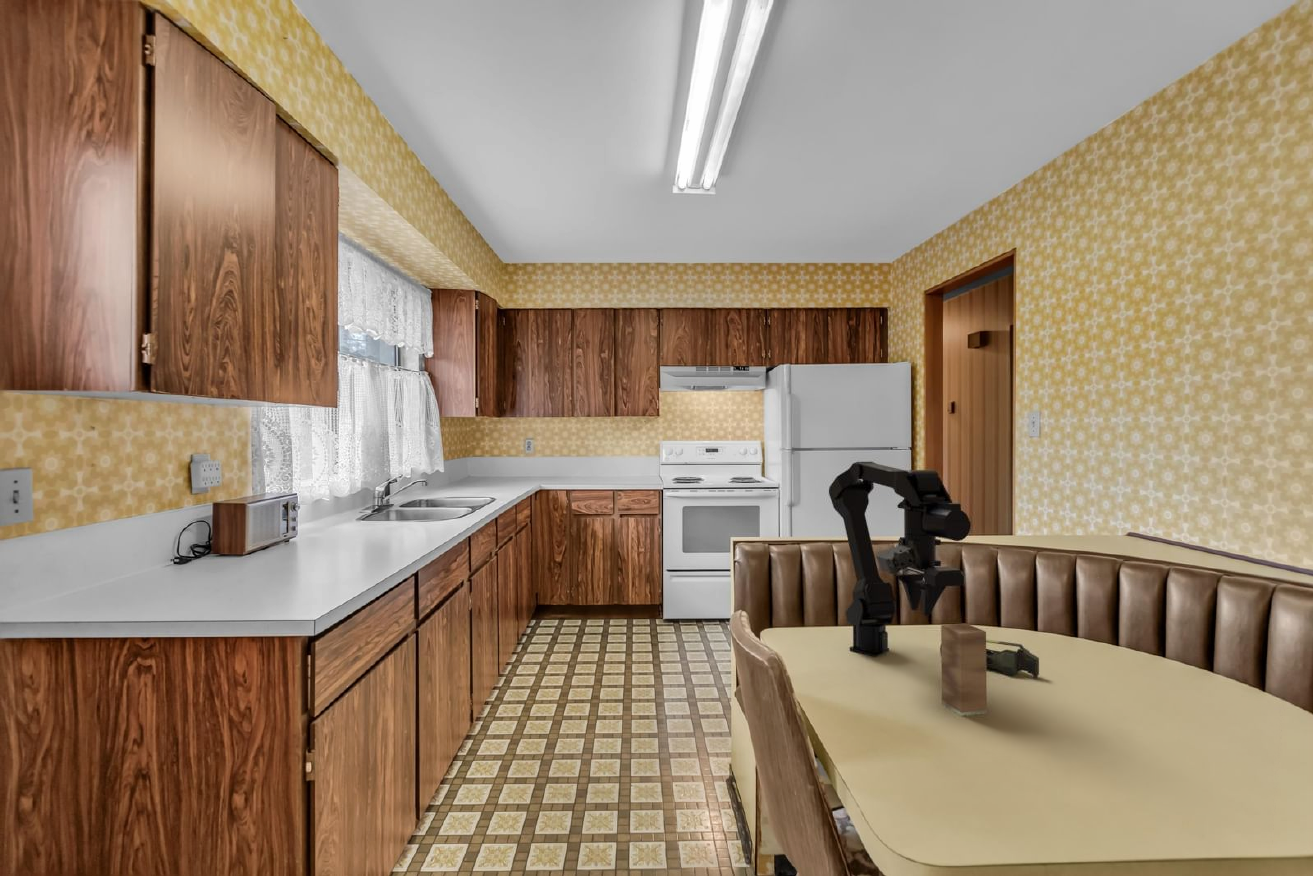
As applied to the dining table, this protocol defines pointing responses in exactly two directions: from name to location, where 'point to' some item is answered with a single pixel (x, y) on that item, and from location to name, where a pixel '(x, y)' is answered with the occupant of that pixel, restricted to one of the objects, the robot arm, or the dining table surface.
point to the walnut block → (964, 669)
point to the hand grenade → (1012, 660)
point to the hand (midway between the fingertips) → (920, 612)
